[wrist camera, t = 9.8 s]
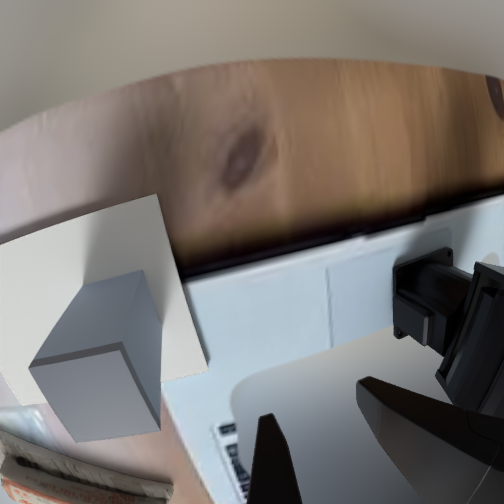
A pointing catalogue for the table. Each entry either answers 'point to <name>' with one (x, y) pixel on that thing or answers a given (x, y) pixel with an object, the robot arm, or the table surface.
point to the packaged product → (68, 479)
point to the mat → (85, 272)
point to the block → (104, 361)
